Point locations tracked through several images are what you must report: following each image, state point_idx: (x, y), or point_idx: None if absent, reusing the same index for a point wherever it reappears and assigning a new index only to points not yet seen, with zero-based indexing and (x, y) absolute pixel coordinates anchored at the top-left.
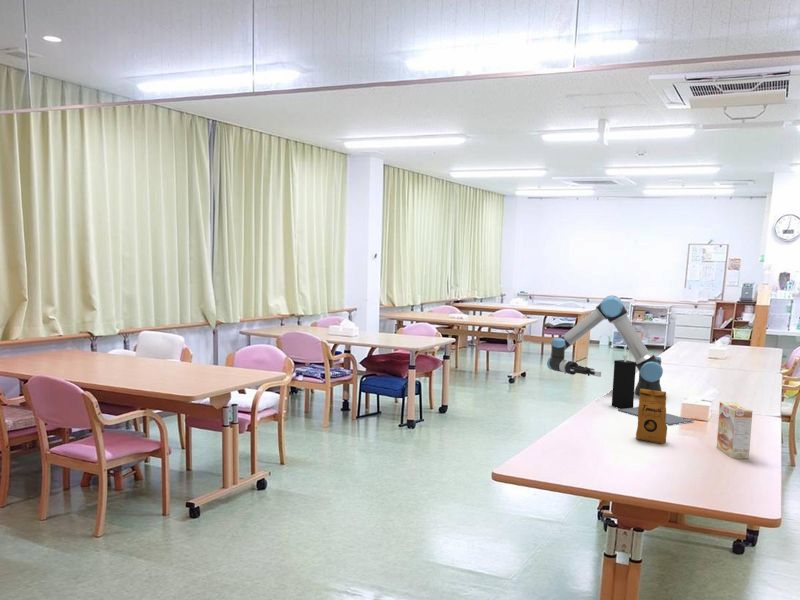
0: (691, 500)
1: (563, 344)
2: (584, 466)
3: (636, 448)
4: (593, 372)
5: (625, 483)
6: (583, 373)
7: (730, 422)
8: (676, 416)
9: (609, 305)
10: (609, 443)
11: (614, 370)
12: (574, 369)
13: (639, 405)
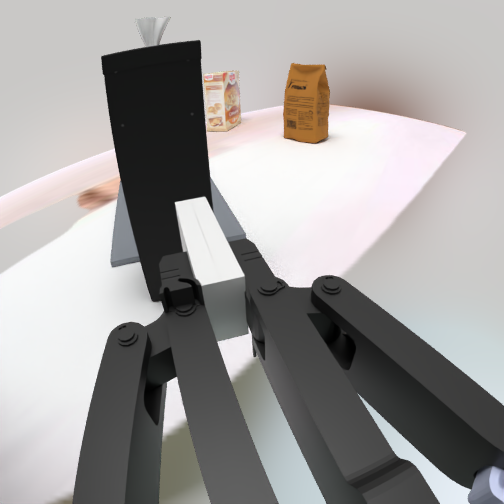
0: (342, 107)
1: None
2: (406, 125)
3: (341, 131)
4: (243, 243)
5: (379, 115)
6: (352, 339)
7: (236, 87)
8: (123, 195)
9: None
10: (371, 138)
11: (203, 101)
12: (497, 423)
13: (328, 87)
